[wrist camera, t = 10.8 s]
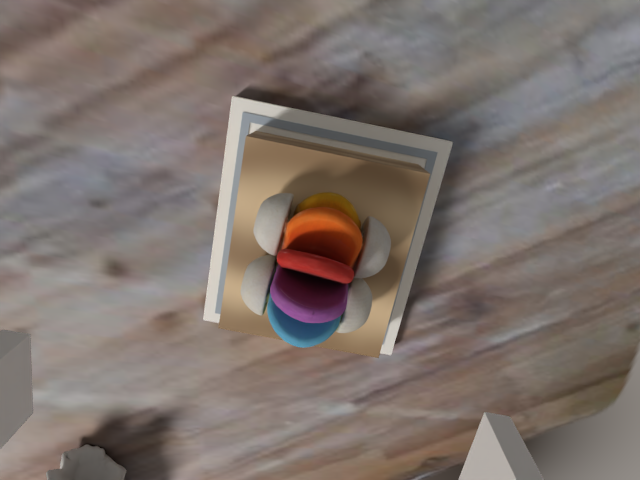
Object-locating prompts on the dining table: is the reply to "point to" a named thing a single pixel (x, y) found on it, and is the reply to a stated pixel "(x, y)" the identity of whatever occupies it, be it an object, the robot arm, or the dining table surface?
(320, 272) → the rainbow fan toy
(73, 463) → the white crumpled lump
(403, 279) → the build board
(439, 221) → the dining table surface
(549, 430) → the dining table surface
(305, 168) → the oak plinth
